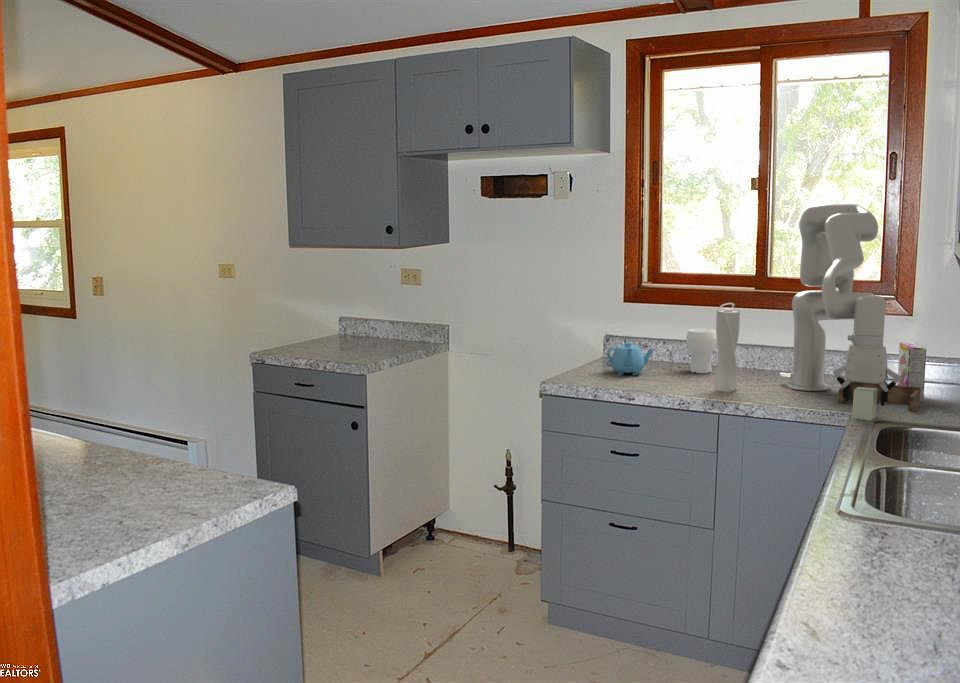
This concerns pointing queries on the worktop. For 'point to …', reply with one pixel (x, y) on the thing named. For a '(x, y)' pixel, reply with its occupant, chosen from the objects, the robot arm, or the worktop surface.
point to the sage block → (864, 403)
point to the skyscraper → (727, 348)
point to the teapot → (628, 359)
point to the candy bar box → (912, 366)
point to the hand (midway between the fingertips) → (864, 402)
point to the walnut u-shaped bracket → (889, 394)
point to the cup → (701, 349)
